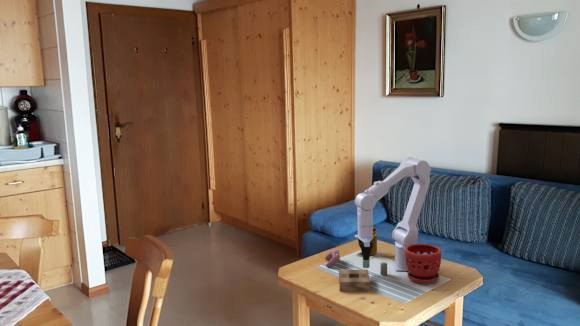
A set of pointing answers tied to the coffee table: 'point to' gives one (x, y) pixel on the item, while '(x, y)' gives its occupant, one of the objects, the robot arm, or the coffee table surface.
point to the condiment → (374, 248)
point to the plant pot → (423, 263)
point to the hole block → (354, 280)
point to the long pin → (366, 264)
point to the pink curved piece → (332, 258)
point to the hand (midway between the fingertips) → (365, 258)
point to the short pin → (383, 269)
